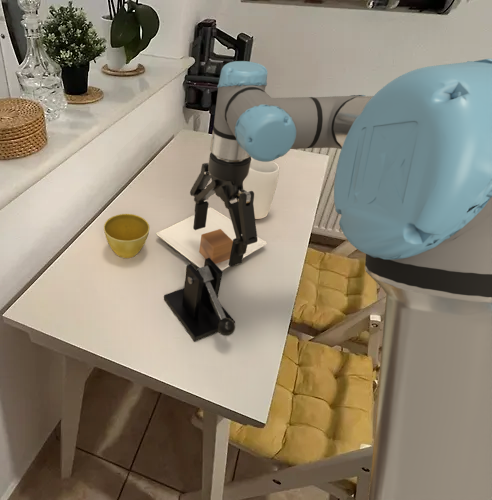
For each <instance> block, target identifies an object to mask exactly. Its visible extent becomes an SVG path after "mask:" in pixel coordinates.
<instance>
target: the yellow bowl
mask: <svg viewBox="0 0 492 500" xmlns="http://www.w3.org/2000/svg"><path fill="white" fill-rule="evenodd" d="M103 231H104V235H105V239H106V242H107V243H108V245H109V247H110V248H111V250H112V251H113V252H114V254H115V255H117V256H118V257H119V258H121V259H132V258H134V257H135V256H137V255H138V254H139V253H140V251H141V250H142V249H143V247H144V245H145V244H146V242H147V239H148V236H149V233H150V224H149V222H148V221H147V220H146V219H145V218H144V217H142V216H140V215H137V214H134V213H133V214H132V213H120V214H115V215H113V216H111V217H109V218H108V219H106V221H105V222H104V224H103Z"/></svg>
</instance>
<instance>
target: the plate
mask: <svg viewBox="0 0 492 500" xmlns="http://www.w3.org/2000/svg"><path fill="white" fill-rule="evenodd" d="M194 218H195V214H192V215H191V216H189V217H186V218H184V219H182V220H180V221H179V222H176V223H174V224H172V225H170V226H168V227H166V228H164V229H161V230H159V231H157V232H156V233H155V235H156V236H157V237H159V238H160V239H161V240H162V241H164V242H165V243H166V244H167V245H169V246H170V247H171V248H173V249H174V250H175V251H176V252H178V253H179V254H180V255H182V256H183V257H184V258H186V260H188V261H189V262H191V264H192V265H195V266H196V267H197V268H201V267H204V263H205V258H204V257H203V256H202V255H201V254H200V252H199V249H200V242H201V235H202V234H205V233H209V232H212V231H215V230H218V229H221V230H222V231H223V232H224V233H225V234H226V235H227V236H228V237H229V238H230V239H231V240H232V241H233V239H235V238H236V235H235V232H234V228H233V224H232V221H231V218H229V217H228V216H226V215H224V214H222V213H221V212H219V211H218V210H216V209H215V208H214V207H212V206H210V207H209V206H208V211H207V218H206V226H205V227H204V228H201V229H197V230H194V229H193V226H194ZM241 236H242V235H241ZM266 245H268V242H267V241H266V240H264V239H262V238H261V237H259V236H257V242H255V243H252V244H249V245H247V249H246V253H245V254H243V259H244V258H246V257H248V256H249V255H251V254H253V253H255V252H256V251H258V250H259V249H261V248H263V247H265V246H266ZM216 265H217V266H218V267H219V269H220V270H221V271H222V272H224V271H225V270H226V269H227V268H229V267H230V266H229V260H226V261H223V262H220V263H217V264H216Z"/></svg>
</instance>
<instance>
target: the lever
mask: <svg viewBox="0 0 492 500" xmlns="http://www.w3.org/2000/svg"><path fill="white" fill-rule="evenodd" d="M196 270H197V271H198V272H199V274H200V275H201V276H202V277H203V278H204V281H203V285H204V287H205V290H206V292H207V294H208V296H209V299H210V301H211V303H212V306H213V308H214V310H215V312H216V315H217V317H218V319H219V322H218V323H217V330H218V332H217V333H219V335H222V336H225V337H229V336H231V335H233V334H234V332H235V331H236V324H234V322H233V321H232V320H231V319H229V318H226V316H225V314H224V312H223V309H222V307H223V306H222V304H221V303H220V301H219V297H218V298H217V296H216V294H215V291H214V289H213V287H212V285H211V281H212V280H213V279H214V278H213V276H212V274H211V271H210V269H209V267H208V265H207V266H204V267H201V268H199V267H197V268H196ZM220 304H221V305H220ZM221 306H222V307H221Z"/></svg>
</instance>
